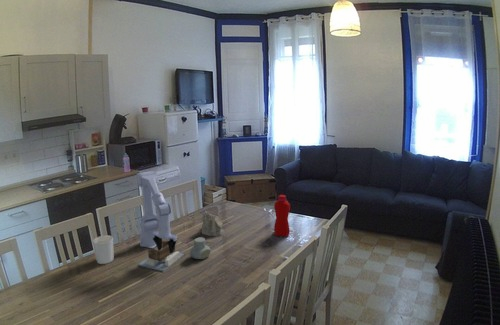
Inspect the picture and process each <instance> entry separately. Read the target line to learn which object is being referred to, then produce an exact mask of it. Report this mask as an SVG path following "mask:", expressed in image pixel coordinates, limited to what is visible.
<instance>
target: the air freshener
mask: <svg viewBox="0 0 500 325" xmlns="http://www.w3.org/2000/svg"><path fill="white" fill-rule="evenodd" d="M189 254H190V256H191V257H192V258H193V259H194V260H195V259H196V260H204V259H206V258H207V257H209V256H210V254H211V248H210V247H209V246H208V245H207V244H206V239H205V237H200V236H199V237H197V238H195V239H194V240H193V246H192V247H191V248H190V250H189Z"/></svg>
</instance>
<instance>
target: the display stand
mask: <svg viewBox="0 0 500 325" xmlns="http://www.w3.org/2000/svg"><path fill="white" fill-rule="evenodd" d="M157 250H158V249H157ZM158 251H159V250H158ZM184 256H185V254H184V253H181V252H180V251H177V250H175V252H173V253H172V254H171V255H169V256H168V257H166V258H165V259H163V260H162V261H158V260H154V259H150V258H149V256H147V257H146V258H145V259H143V260H142V261H140V262H139V263H137V266H139V267H143V268H147V269H152V270H155V271H158V272H159V271H160V272H163V273H164V272H165V271H167V269H170V267H172V266H173V265H174V264H176V262H178V261H179V260H180V259H182V258H183V257H184Z"/></svg>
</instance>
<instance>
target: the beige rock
mask: <svg viewBox="0 0 500 325" xmlns="http://www.w3.org/2000/svg"><path fill="white" fill-rule="evenodd" d="M202 216H203V217H202V225H201V234H202V235H205V236H210V237H215V238H216V237H217V238H218V237H222V236H223V235H224V234H225V230H224V226H223V225H224V223H223V222H222V220H221V219H220V218H219V216H216V215H214V214H212V213H209V212H207V210H205V211H204V213H203V215H202Z"/></svg>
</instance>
